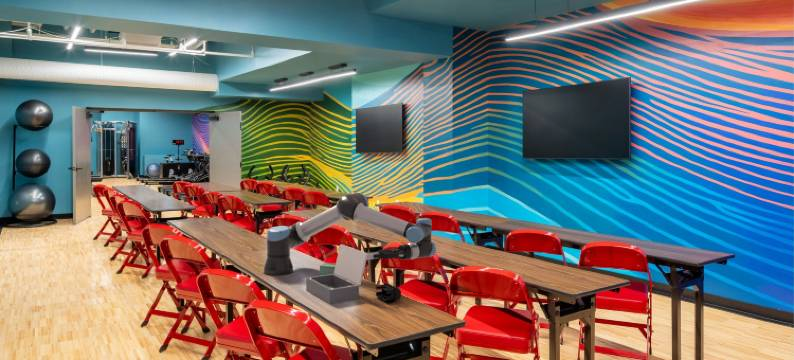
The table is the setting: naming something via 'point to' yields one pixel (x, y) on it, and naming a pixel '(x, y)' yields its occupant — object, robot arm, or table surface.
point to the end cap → (388, 293)
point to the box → (327, 269)
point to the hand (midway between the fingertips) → (366, 256)
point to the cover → (350, 264)
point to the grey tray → (332, 288)
